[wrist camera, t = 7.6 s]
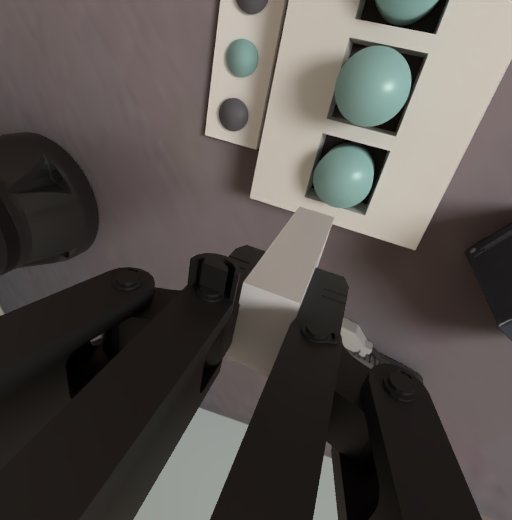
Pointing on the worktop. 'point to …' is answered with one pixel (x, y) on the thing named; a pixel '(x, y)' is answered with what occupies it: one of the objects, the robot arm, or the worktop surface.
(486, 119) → the worktop surface
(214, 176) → the worktop surface
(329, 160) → the button
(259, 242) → the worktop surface
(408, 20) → the button
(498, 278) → the small box
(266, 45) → the pattern card
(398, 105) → the button
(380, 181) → the board
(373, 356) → the walkie-talkie
